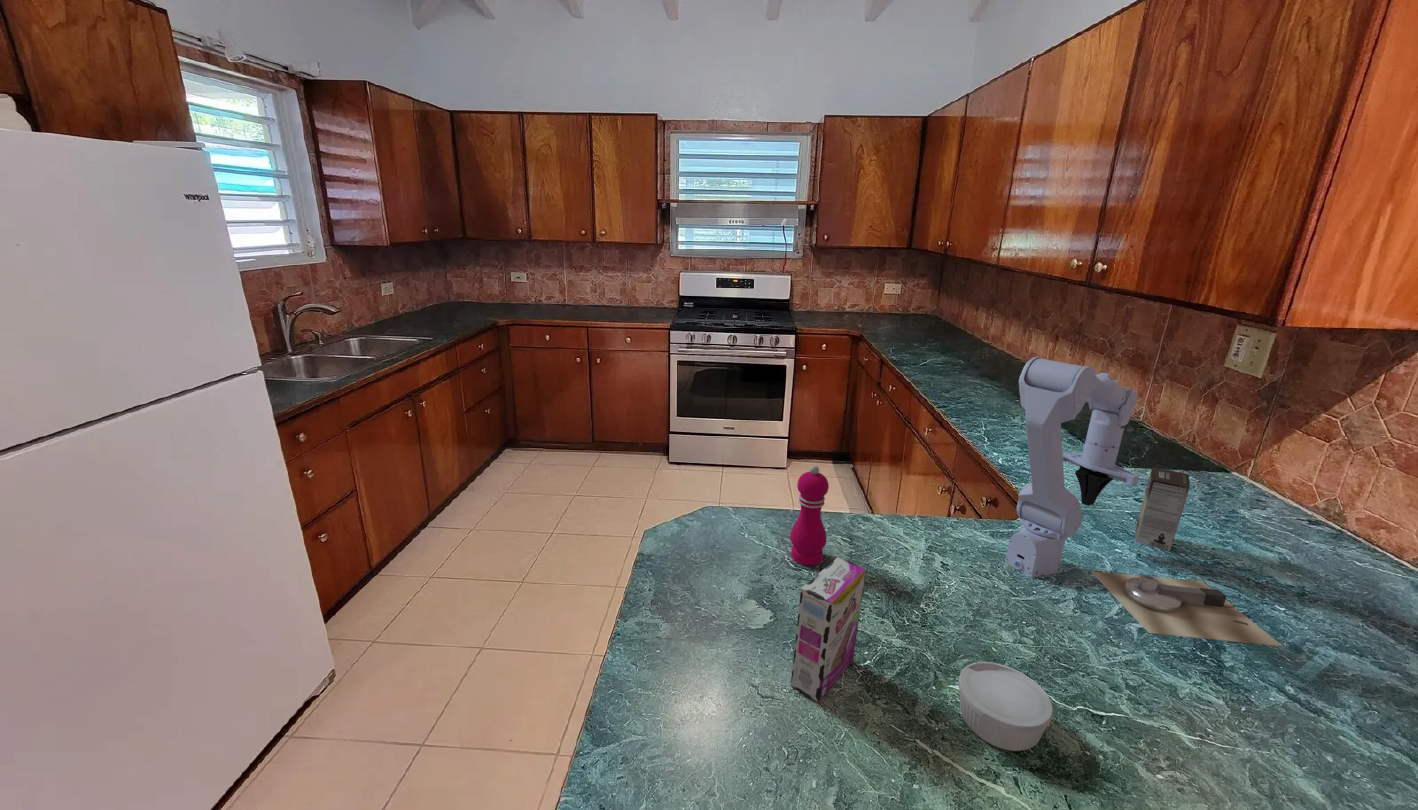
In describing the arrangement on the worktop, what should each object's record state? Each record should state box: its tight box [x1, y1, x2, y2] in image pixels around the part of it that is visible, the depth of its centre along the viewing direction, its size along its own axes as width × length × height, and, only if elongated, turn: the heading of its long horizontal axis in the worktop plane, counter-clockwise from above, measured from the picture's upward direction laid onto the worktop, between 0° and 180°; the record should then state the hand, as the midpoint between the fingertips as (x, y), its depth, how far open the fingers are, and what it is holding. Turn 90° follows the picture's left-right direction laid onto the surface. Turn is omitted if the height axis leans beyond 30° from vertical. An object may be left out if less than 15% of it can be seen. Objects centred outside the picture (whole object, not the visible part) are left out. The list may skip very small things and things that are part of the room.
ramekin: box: [958, 661, 1054, 752], centre depth 74 cm, size 11×11×5 cm
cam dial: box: [1124, 574, 1228, 612], centre depth 99 cm, size 15×8×4 cm, turn 81°
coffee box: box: [1134, 466, 1191, 552], centre depth 120 cm, size 9×6×16 cm
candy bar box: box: [790, 556, 867, 703], centre depth 80 cm, size 11×5×16 cm, turn 141°
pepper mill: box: [789, 464, 829, 566], centre depth 110 cm, size 7×7×20 cm
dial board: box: [1090, 570, 1283, 647], centre depth 99 cm, size 20×18×1 cm
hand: (1087, 503), depth 116 cm, fingers closed
